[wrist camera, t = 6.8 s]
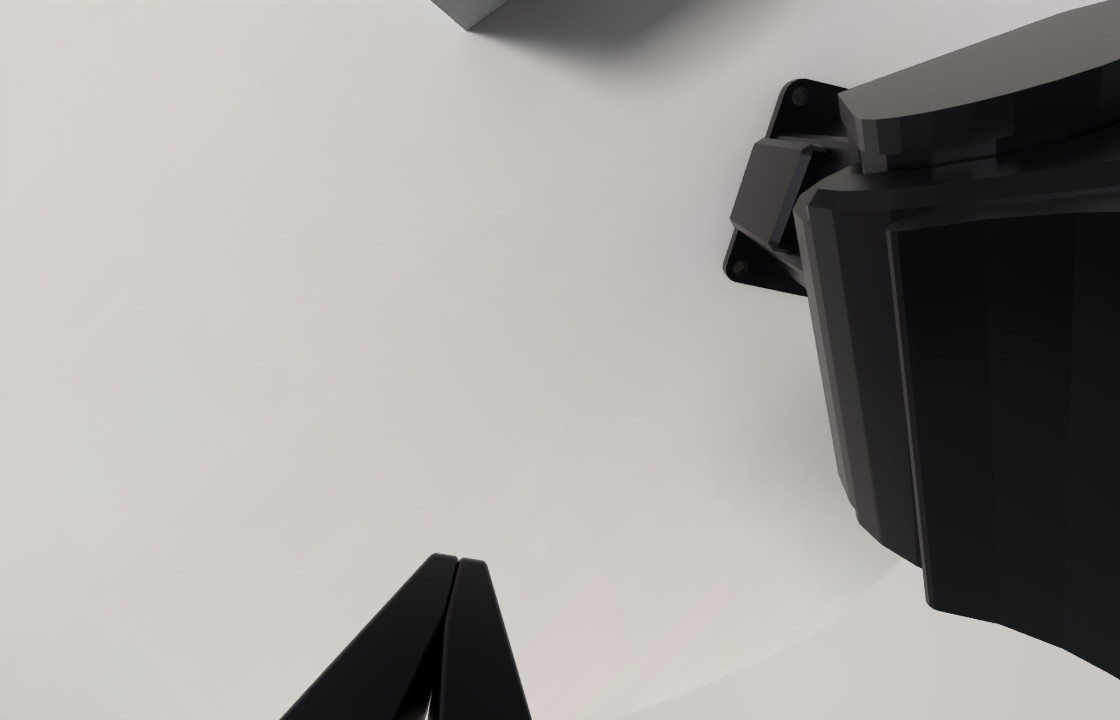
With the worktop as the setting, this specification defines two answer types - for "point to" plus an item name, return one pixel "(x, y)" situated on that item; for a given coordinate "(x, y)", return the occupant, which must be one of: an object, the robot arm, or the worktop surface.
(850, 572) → the worktop surface
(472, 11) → the slate block one
